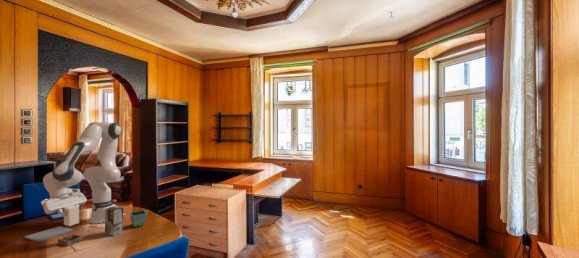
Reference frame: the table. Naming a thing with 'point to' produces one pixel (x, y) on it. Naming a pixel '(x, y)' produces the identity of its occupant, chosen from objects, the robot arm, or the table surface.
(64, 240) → the walnut pocket
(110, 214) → the coffee box
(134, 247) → the table surface
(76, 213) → the cream block
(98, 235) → the table surface
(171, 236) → the table surface
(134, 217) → the flower pot
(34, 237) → the slate board
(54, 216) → the handheld game console
